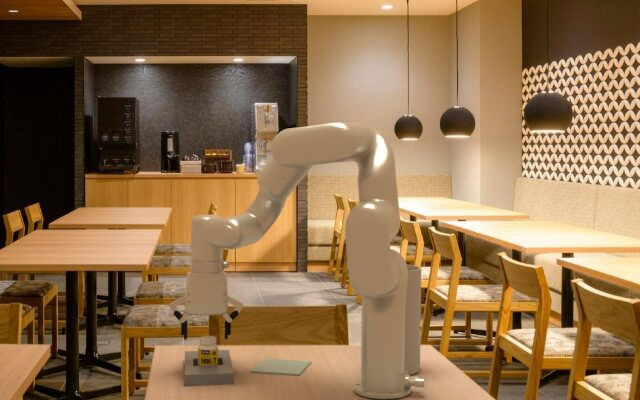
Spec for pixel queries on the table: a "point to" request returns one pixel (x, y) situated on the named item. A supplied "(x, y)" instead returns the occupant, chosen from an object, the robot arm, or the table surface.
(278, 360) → the rubber mat
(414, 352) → the cylinder vase
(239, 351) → the table surface
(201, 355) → the supplement bottle
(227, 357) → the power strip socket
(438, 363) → the table surface
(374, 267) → the robot arm
